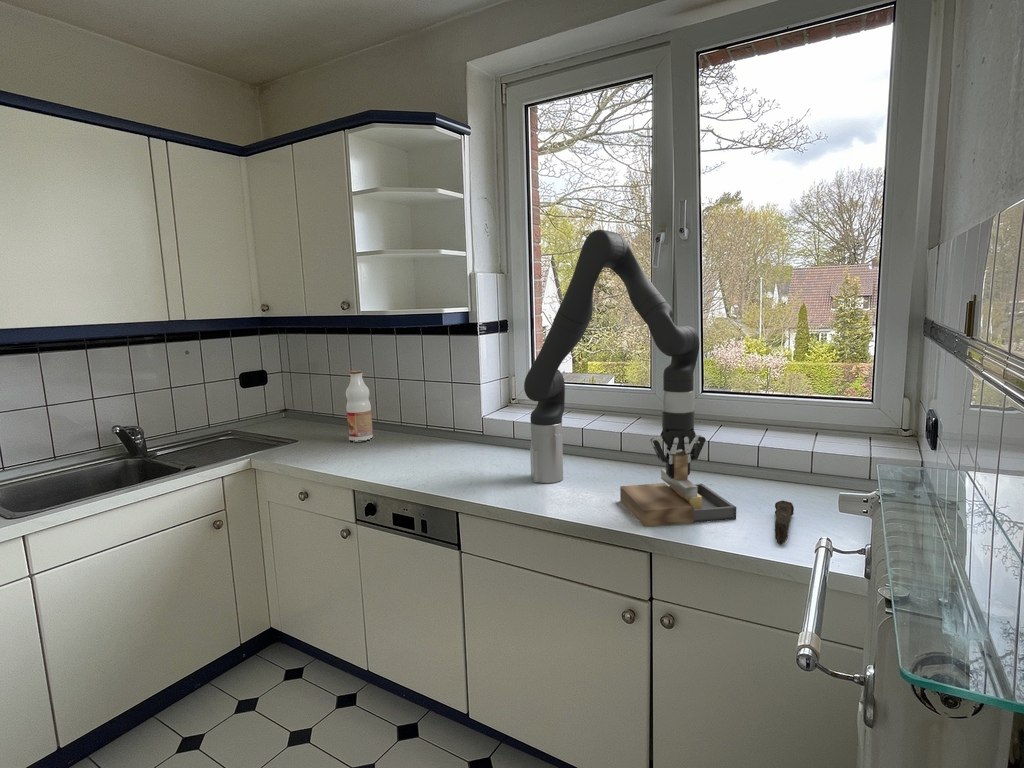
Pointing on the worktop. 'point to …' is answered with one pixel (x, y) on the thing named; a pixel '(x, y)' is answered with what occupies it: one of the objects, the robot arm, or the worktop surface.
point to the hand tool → (782, 520)
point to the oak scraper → (680, 477)
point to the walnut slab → (656, 505)
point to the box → (713, 506)
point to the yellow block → (695, 501)
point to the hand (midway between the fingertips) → (677, 476)
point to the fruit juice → (358, 408)
